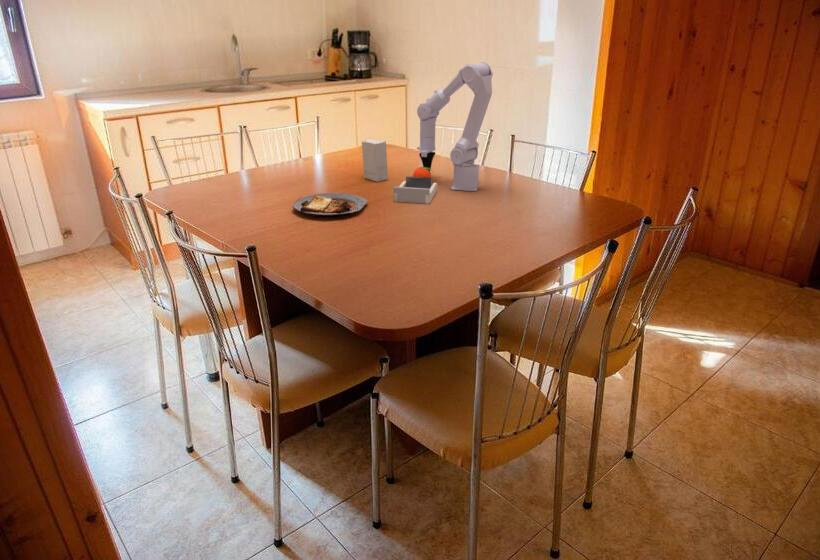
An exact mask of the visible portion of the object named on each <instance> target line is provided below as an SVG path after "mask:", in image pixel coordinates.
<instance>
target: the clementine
mask: <svg viewBox="0 0 820 560" xmlns="http://www.w3.org/2000/svg"><path fill="white" fill-rule="evenodd" d="M428 169H429V168H426V167H423V166H420V167H418V168H416V169H415V170H414V171H413V173H412V177H426V178H432V173H434V171H433V169H432V168H431V169H429V170H430V171H429V170H428ZM431 172H432V173H431Z"/></svg>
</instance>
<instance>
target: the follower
mask: <svg viewBox="0 0 820 560" xmlns="http://www.w3.org/2000/svg"><path fill="white" fill-rule="evenodd" d="M405 181H406V187H411V188H427V189H430V188H431V186H432V185H433V183H432V177H431V178H426V177H413V176H409V175H408V176H405Z"/></svg>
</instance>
